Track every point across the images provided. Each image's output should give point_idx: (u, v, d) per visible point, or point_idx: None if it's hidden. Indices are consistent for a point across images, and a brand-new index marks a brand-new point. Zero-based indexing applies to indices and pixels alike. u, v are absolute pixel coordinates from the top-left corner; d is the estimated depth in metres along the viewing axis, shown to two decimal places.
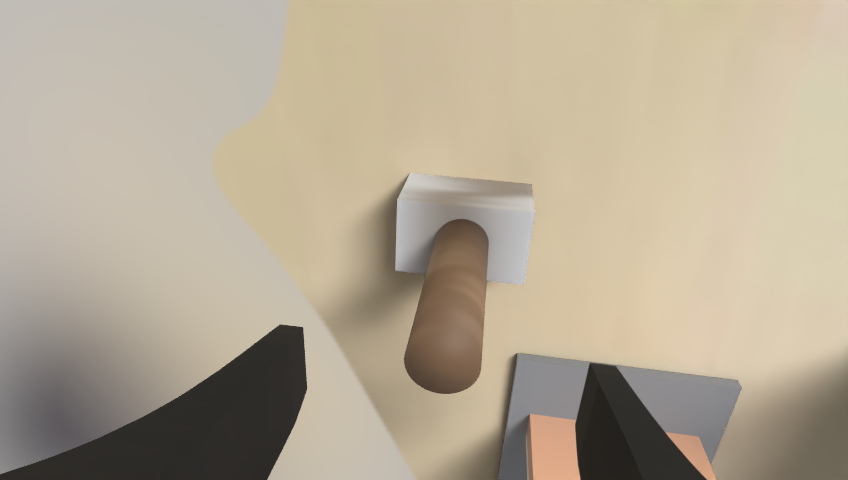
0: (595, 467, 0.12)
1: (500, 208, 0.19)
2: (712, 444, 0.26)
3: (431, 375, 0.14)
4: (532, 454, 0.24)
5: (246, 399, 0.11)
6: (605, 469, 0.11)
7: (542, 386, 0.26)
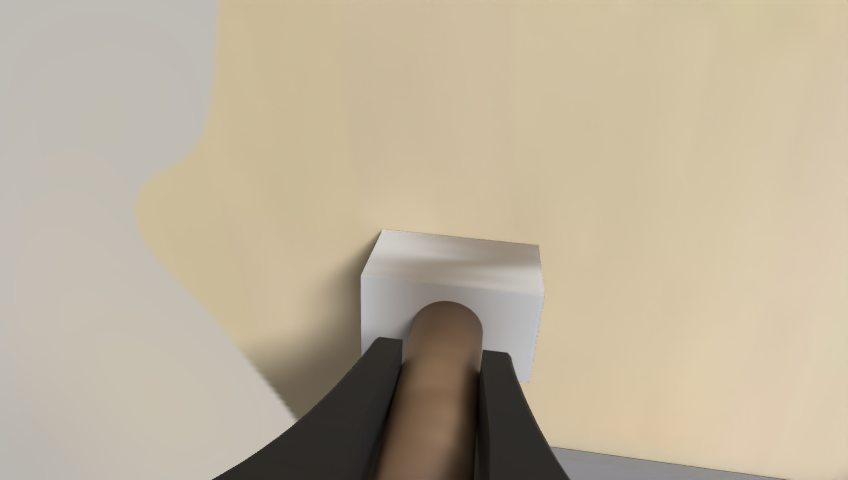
0: (477, 450, 0.12)
1: (498, 288, 0.15)
2: None
3: None
4: None
5: (369, 416, 0.11)
6: (480, 451, 0.11)
7: None
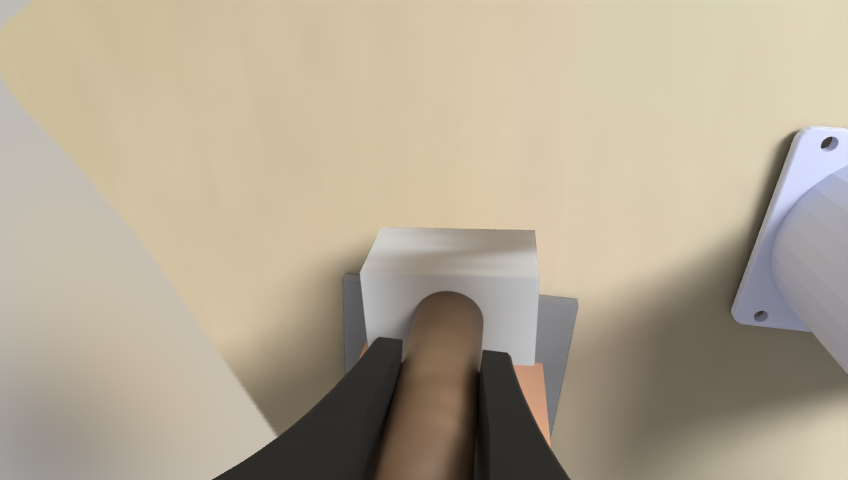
0: (477, 450, 0.12)
1: (493, 274, 0.15)
2: (558, 372, 0.24)
3: None
4: None
5: (369, 416, 0.11)
6: (480, 451, 0.11)
7: None
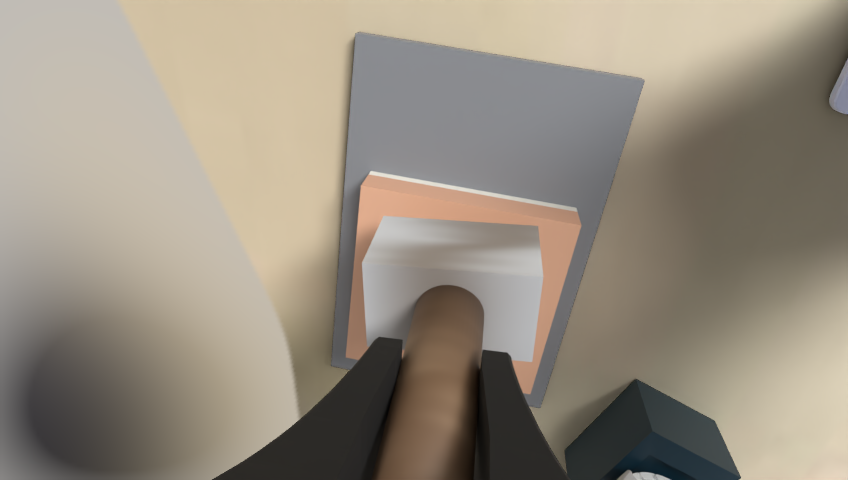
0: (477, 450, 0.12)
1: (497, 271, 0.15)
2: (605, 178, 0.20)
3: None
4: (356, 244, 0.21)
5: (369, 416, 0.11)
6: (480, 451, 0.11)
7: (388, 80, 0.19)
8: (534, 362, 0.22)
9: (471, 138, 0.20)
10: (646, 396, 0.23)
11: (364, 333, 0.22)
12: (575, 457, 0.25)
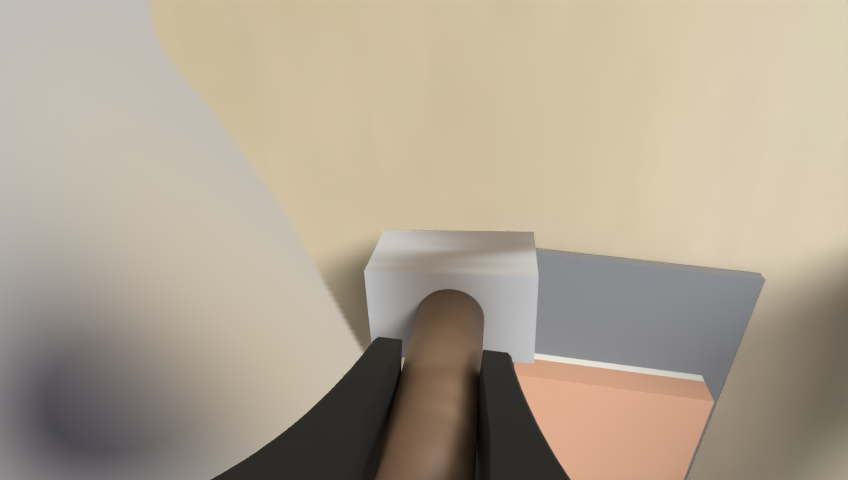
0: (477, 450, 0.12)
1: (494, 273, 0.15)
2: (729, 352, 0.22)
3: None
4: None
5: (368, 416, 0.11)
6: (481, 451, 0.11)
7: None
8: None
9: (606, 325, 0.23)
10: None
11: None
12: None
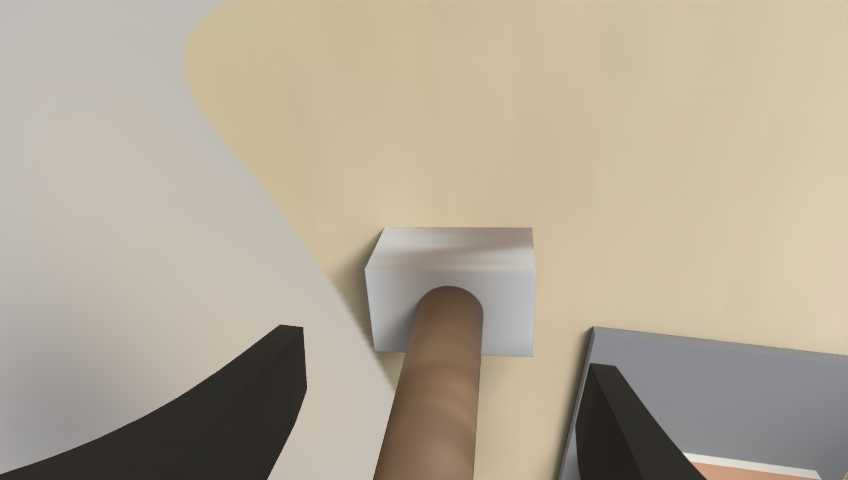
0: (595, 467, 0.12)
1: (492, 269, 0.16)
2: None
3: None
4: None
5: (246, 399, 0.11)
6: (605, 469, 0.11)
7: (626, 371, 0.19)
8: None
9: (708, 416, 0.20)
10: None
11: None
12: None
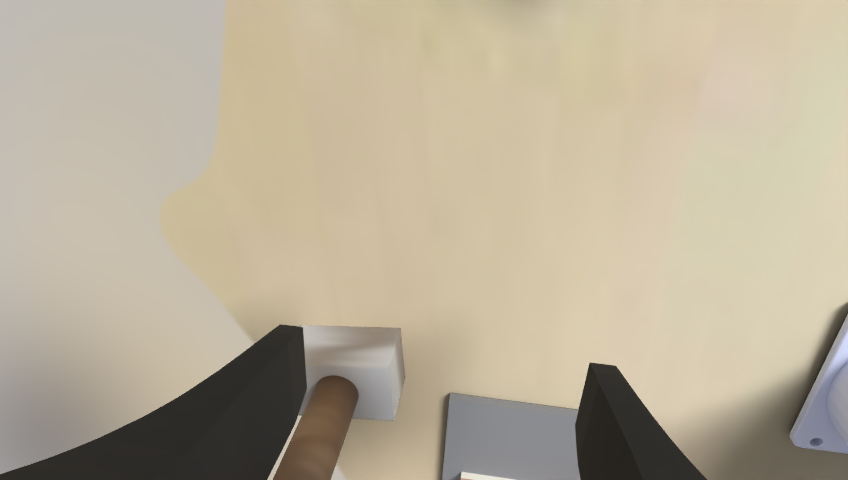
0: (595, 467, 0.12)
1: (361, 365, 0.24)
2: None
3: None
4: None
5: (246, 399, 0.11)
6: (605, 469, 0.11)
7: (473, 424, 0.27)
8: None
9: (534, 455, 0.28)
10: None
11: None
12: None
